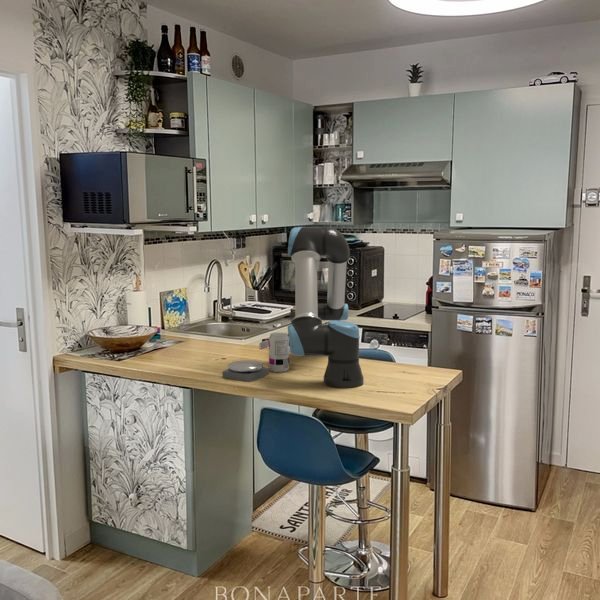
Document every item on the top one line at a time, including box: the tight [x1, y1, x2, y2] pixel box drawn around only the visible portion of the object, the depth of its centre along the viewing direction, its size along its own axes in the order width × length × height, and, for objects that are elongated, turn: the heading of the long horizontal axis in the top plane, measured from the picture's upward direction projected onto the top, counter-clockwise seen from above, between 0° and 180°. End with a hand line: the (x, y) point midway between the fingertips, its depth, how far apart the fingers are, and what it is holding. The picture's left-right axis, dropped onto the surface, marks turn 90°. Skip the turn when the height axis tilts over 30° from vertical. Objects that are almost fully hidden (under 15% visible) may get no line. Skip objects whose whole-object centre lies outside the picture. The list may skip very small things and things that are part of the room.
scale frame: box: [222, 366, 270, 383], centre depth 252 cm, size 13×13×3 cm
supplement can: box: [268, 332, 290, 373], centre depth 260 cm, size 8×8×15 cm
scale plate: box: [227, 359, 265, 373], centre depth 252 cm, size 14×14×4 cm
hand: (274, 347), depth 257 cm, fingers open, 13 cm apart
